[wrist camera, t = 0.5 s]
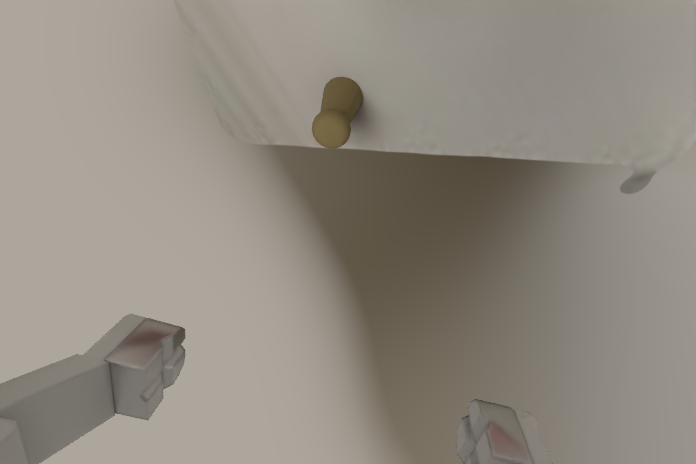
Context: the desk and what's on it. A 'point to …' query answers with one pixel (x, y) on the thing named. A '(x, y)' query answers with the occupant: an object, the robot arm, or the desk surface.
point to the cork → (337, 112)
